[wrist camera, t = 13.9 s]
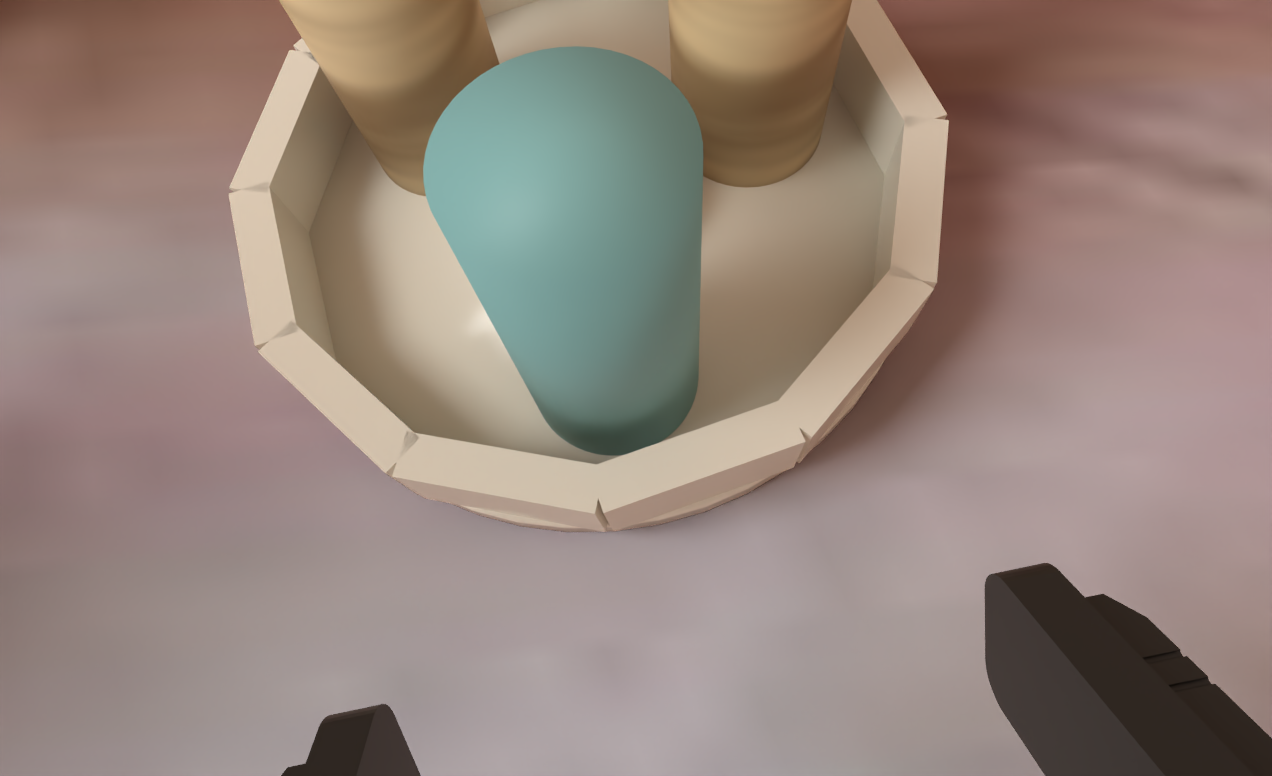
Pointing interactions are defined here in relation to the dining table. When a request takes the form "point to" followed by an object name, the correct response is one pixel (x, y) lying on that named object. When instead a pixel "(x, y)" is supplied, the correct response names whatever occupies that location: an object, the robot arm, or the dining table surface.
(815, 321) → the ring dish
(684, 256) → the teal rounded cylinder
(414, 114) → the tan rounded cylinder
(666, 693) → the dining table surface
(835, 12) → the ribbed wooden peg
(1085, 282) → the dining table surface
